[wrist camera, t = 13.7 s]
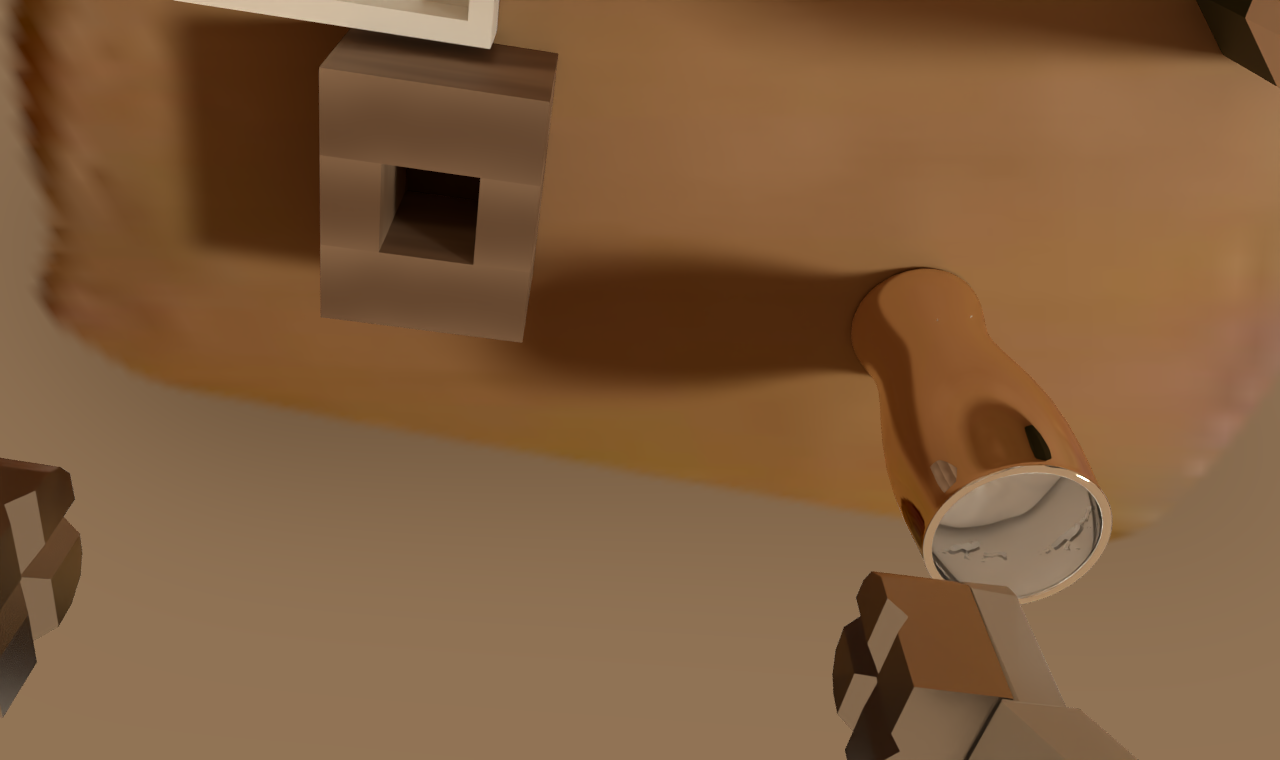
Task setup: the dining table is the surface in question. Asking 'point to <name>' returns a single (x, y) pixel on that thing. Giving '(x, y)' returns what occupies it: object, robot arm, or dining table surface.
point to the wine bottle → (1247, 33)
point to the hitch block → (436, 141)
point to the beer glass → (975, 444)
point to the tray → (388, 16)
